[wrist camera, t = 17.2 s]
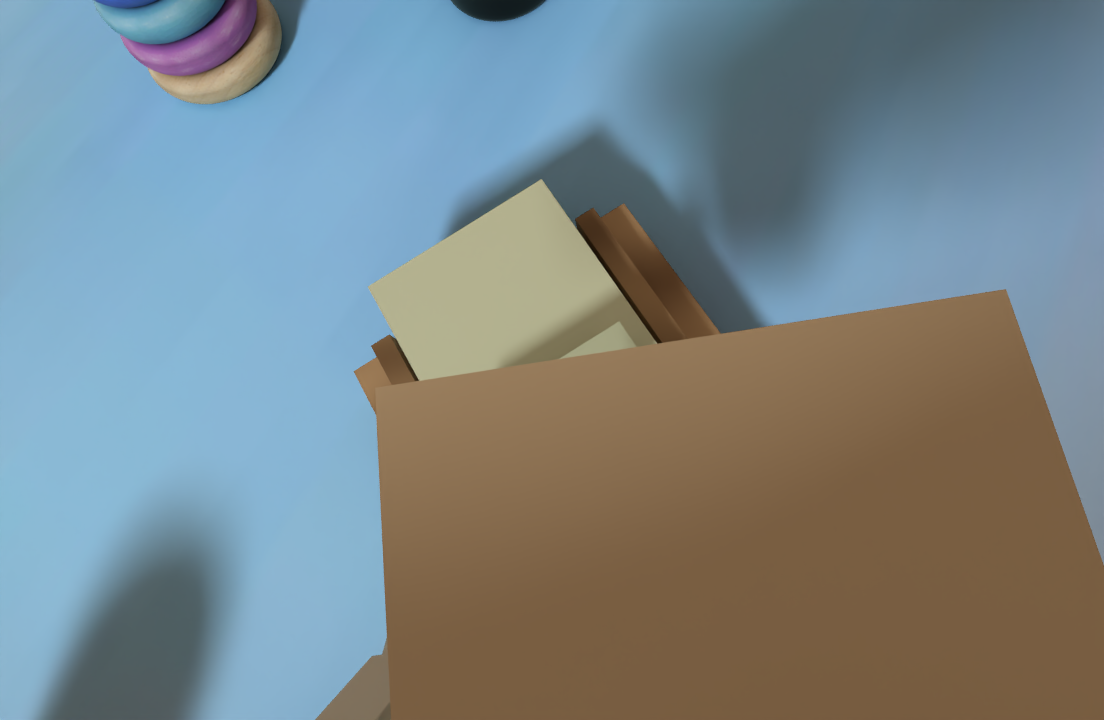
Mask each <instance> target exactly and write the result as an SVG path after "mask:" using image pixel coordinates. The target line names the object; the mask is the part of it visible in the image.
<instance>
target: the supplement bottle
mask: <svg viewBox="0 0 1104 720" xmlns="http://www.w3.org/2000/svg"><path fill="white" fill-rule="evenodd" d="M451 1H452V3H453V4H454V5H455V6H456V7H457V8H458V9H459V10H461V11H462V12H464V13H465V14H467V15H469V16H471V17H474V18H476V19H480V20H484V21H507V20H511V19H515V18H518V17H521V16H523V15H525V14H527V13H529V12H531V11H533V10H534V9H536V8H537V7H538V6H540V5H541V4H542V3H543V2H544V1H545V0H451Z"/></svg>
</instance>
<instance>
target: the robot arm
mask: <svg viewBox="0 0 1104 720" xmlns="http://www.w3.org/2000/svg"><path fill="white" fill-rule="evenodd" d="M315 720H391V708H390V688H389V667H388V646H387V639H386V642H385V646H384V650H383V653H382V655H376V656H372V657H371V658H370V659H369V660H368V661H367V662H366V663H365V664H364V666H363V667H362V668H361V669H360V670H359V671H358V672H357V673H356V674H355V676H354V677H353V678H352V679H351V680H350V681H349V682H348V683H347V685H346V686H345V687H344V688H343V689H342V690H341V691H340V692H339V694H338V695H337V696H336V697H335V698H334V699H333V700H332V701H331V702H330V704H329V705H328V706H327V707H326V708H325V709H324V710H323V711H322V713H321V714H320V715H319V716H318V717H317V718H316V719H315Z"/></svg>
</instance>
